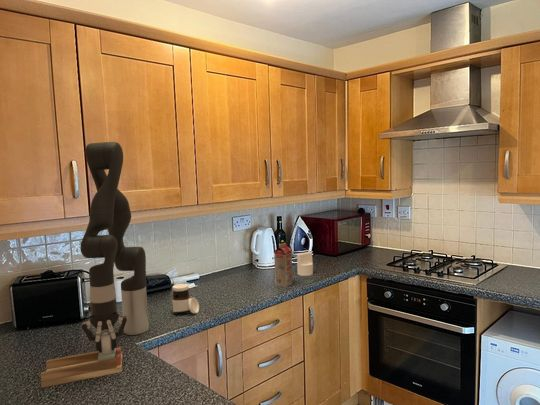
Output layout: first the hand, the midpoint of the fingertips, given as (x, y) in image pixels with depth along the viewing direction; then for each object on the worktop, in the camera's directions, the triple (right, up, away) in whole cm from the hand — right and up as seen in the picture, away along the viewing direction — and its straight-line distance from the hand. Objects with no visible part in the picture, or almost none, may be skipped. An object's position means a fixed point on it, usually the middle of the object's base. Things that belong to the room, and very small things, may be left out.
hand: (106, 350), depth 124 cm
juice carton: (+60, +3, +82) cm, 102 cm away
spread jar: (+15, -1, +47) cm, 50 cm away
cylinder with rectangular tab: (+73, +6, +102) cm, 125 cm away
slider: (0, -4, 0) cm, 4 cm away
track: (-6, -6, -2) cm, 9 cm away
